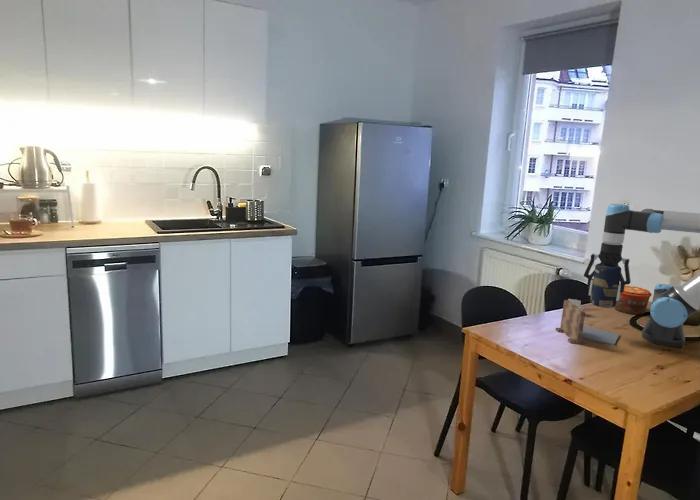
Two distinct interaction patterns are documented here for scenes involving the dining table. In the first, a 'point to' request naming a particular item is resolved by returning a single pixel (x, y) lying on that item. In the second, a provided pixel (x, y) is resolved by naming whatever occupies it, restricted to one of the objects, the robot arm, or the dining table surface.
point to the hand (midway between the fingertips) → (603, 297)
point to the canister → (605, 286)
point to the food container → (633, 300)
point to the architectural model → (576, 303)
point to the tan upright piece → (572, 322)
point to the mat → (599, 335)
